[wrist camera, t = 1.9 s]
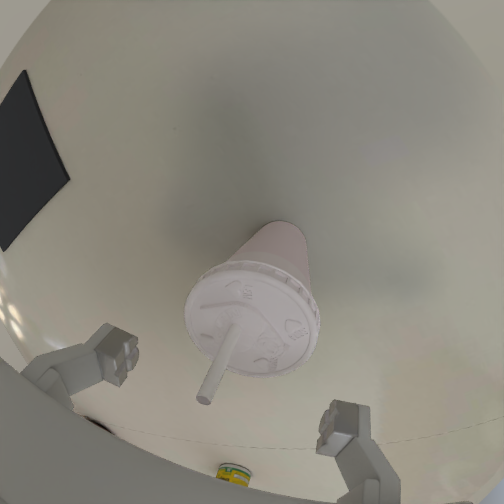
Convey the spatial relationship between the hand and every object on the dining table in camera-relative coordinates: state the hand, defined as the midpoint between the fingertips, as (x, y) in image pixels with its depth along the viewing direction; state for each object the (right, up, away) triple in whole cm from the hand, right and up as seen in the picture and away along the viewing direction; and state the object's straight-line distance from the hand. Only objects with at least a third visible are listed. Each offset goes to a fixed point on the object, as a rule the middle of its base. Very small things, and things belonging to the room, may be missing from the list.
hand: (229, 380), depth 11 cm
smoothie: (+3, +6, +11) cm, 13 cm away
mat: (-28, +14, +15) cm, 34 cm away
